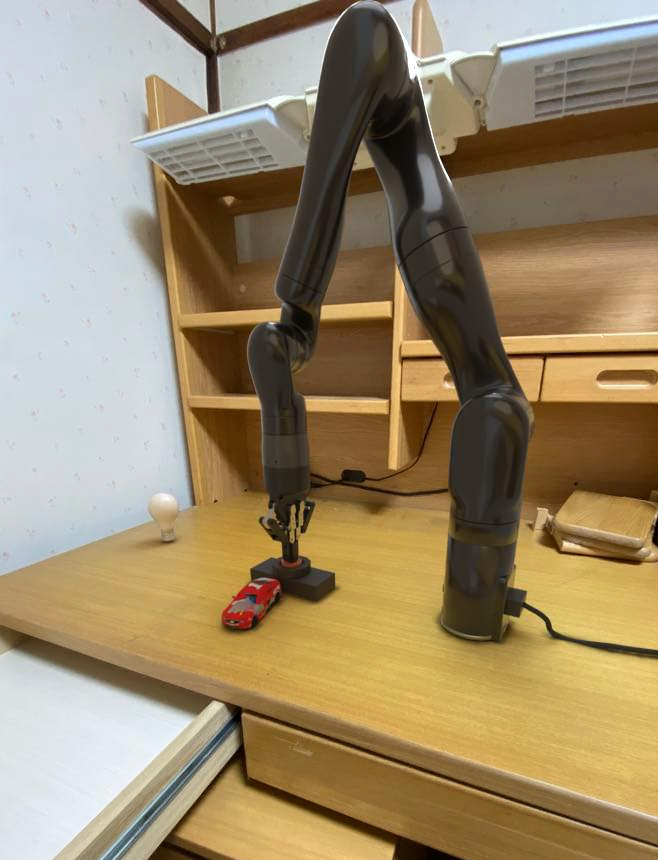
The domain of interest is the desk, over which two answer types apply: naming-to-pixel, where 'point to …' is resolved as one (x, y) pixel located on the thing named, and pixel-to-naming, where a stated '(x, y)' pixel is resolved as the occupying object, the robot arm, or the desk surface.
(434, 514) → the desk surface
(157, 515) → the lightbulb
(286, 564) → the dock button
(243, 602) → the race car
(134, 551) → the desk surface
